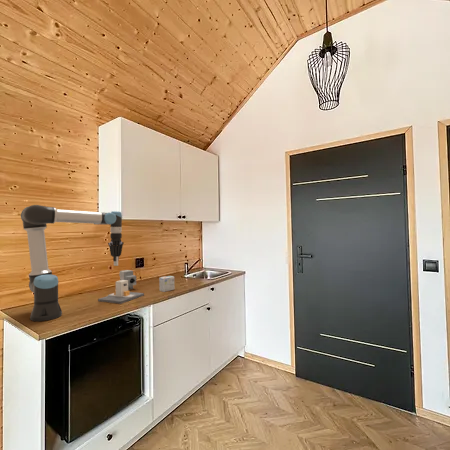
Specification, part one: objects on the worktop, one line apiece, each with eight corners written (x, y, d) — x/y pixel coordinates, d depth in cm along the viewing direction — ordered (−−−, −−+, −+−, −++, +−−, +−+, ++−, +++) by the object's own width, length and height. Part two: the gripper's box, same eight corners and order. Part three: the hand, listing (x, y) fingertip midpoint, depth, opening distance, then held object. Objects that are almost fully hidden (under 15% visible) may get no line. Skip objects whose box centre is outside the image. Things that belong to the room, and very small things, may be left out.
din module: (122, 296, 193) (122, 282, 193) (115, 295, 195) (115, 281, 195) (129, 294, 199) (129, 280, 199) (122, 293, 201) (122, 279, 202)
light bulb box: (169, 288, 227) (169, 275, 227) (174, 289, 223) (174, 276, 223) (159, 290, 219) (158, 277, 219) (164, 292, 214) (164, 278, 215)
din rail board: (120, 303, 182) (120, 295, 182) (98, 301, 190) (98, 293, 190) (144, 295, 205) (143, 288, 205) (122, 293, 212) (122, 286, 212)
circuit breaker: (129, 291, 218) (129, 272, 218) (119, 289, 226) (119, 271, 227) (137, 289, 224) (137, 271, 224) (127, 287, 232) (127, 269, 233)
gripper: (113, 233, 190) (113, 267, 190) (126, 232, 202) (126, 264, 202) (105, 232, 193) (104, 266, 192) (118, 232, 205) (118, 264, 205)
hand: (115, 265), depth 197 cm, fingers closed
